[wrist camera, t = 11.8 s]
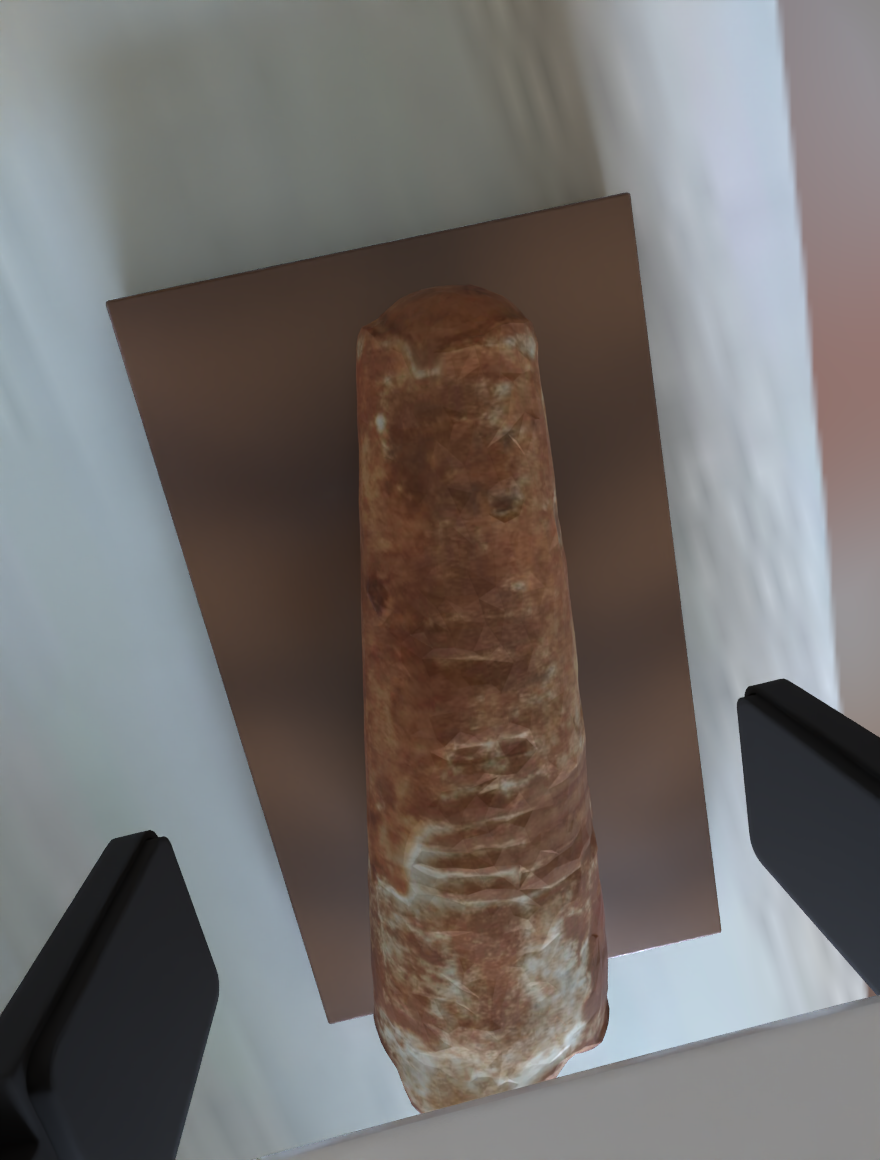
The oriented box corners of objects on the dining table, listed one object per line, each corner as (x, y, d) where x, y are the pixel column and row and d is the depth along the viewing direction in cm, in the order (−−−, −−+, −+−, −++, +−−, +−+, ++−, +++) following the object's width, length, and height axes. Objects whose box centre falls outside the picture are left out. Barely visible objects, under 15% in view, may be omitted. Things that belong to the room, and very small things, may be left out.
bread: (378, 959, 20) (372, 1151, 15) (334, 304, 16) (303, 242, 11) (577, 942, 21) (642, 1124, 15) (587, 299, 16) (682, 235, 11)
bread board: (127, 310, 17) (102, 300, 16) (611, 210, 17) (631, 190, 16) (332, 986, 22) (328, 1026, 21) (701, 900, 23) (723, 933, 21)
